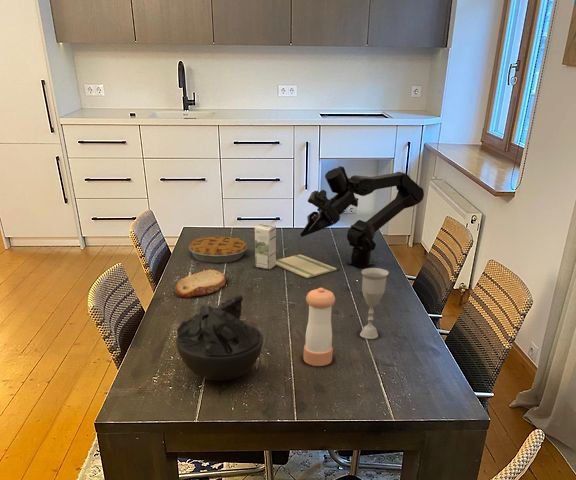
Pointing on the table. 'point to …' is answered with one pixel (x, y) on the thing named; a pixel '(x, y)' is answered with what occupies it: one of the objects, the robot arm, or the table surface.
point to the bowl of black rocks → (219, 342)
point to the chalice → (372, 296)
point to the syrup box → (265, 246)
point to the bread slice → (200, 284)
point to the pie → (218, 249)
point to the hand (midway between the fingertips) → (304, 234)
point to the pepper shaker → (319, 328)
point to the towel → (304, 266)
